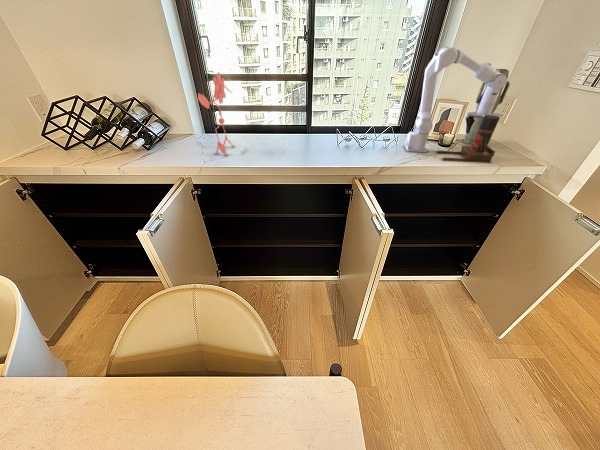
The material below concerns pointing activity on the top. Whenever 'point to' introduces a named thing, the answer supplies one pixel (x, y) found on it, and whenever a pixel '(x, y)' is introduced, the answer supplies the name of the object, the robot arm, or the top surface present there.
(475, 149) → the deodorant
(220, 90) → the figurine
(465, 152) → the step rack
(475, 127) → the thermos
